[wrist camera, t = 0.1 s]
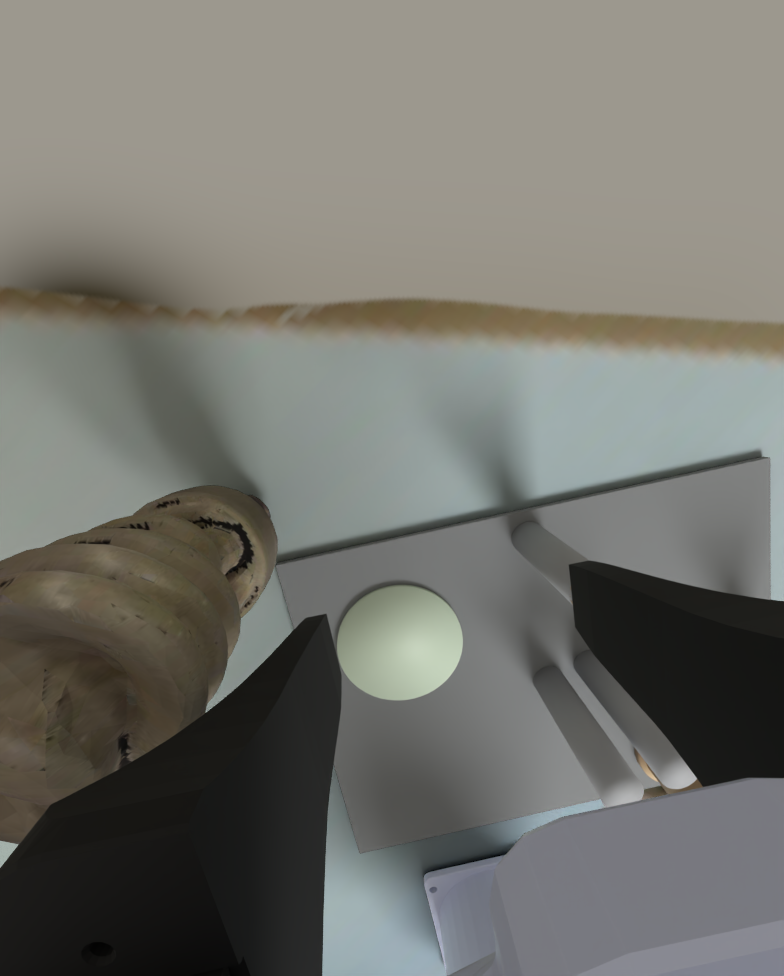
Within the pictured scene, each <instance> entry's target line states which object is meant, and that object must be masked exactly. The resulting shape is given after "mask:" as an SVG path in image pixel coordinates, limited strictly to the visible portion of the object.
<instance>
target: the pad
mask: <svg viewBox="0 0 784 976" xmlns="http://www.w3.org/2000/svg"><path fill="white" fill-rule="evenodd" d="M462 648H463V636H462V630H461V626H460V623H459V621H458V619H457V616H456V614H455V613H454V611H453V609H452V608H451V607H450V606H449V604H448V603H447V602H446V601H445V600H443V599H442V598H441V597H440V596H438V595H437V594H435V593H433V592H431V591H429V590H427V589H424V588H422V587H418V586H413V585H391V586H386V587H382V588H379V589H377V590H374V591H372V592H370V593H368V594H366V595H365V596H363V597H362V598H361V599H359V600H358V601H357V602H356V603H355V604H354V605H353V606H352V607H351V608H350V609H349V611H348V612H347V613H346V615H345V617H344V619H343V621H342V623H341V625H340V629H339V633H338V639H337V653H338V658H339V662H340V664H341V667H342V669H343V671H344V673H345V674H346V676H347V677H348V678H349V680H350V681H351V682H352V683H353V684H354V685H356V686H357V687H358V688H359V689H361V690H362V691H364V692H366V693H368V694H370V695H372V696H374V697H378V698H381V699H386V700H409V699H414V698H417V697H421V696H423V695H426V694H428V693H430V692H432V691H433V690H435V689H437V688H438V687H439V686H441V685H442V684H443V683H444V682H445V681H446V680H447V679H448V678H449V677H450V676H451V674H452V673H453V672H454V670H455V668H456V667H457V665H458V662H459V660H460V657H461V654H462Z"/></svg>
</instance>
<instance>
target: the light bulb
mask: <svg viewBox="0 0 784 976" xmlns="http://www.w3.org/2000/svg"><path fill="white" fill-rule="evenodd" d="M277 543H278V540H277V536H276V532H275V529H274V526H273V523H272V521H271V519H270V512H269V509H268V508H267V506H266V505H265V504H264V503H263V502H262V501H261V500H260V499H258V498H257V497H255V496H253V495H245V494H243V493H241V492H239V491H237V490H234V489H230V488H226V487H222V486H199V487H193V488H190V489H185V490H181V491H177V492H174V493H171V494H169V495H166V496H164V497H162V498H160V499H157V500H155V501H153V502H150V503H148V504H146V505H145V506H143V507H142V508H141V509H139V510H138V511H137V512H136V513H134V514H133V516H129V517H124V518H119V519H115V520H112V521H110V522H107V523H105V524H102V525H100V526H97V527H95V528H92V529H91V530H89V531H88V532H83V533H79V534H74V535H71V536H68V537H65V538H62V539H59V540H57V541H55V542H53V543H51V544H49V545H47V546H45V547H42V548H37V549H31V550H26V551H24V552H21V553H19V554H17V555H14V556H12V557H9V558H7V559H4V560H2V561H0V841H5V842H10V843H15V844H20V843H21V841H22V840H23V839H24V838H25V836H26V835H27V834H28V833H29V831H30V830H31V829H32V827H33V826H34V825H35V824H36V822H37V821H38V820H39V819H40V817H41V816H42V815H43V814H44V812H45V811H46V810H47V809H48V807H49V806H50V805H51V804H53V803H55V802H57V801H59V800H61V799H63V798H65V797H67V796H69V795H71V794H73V793H75V792H76V791H78V790H80V789H82V788H84V787H86V786H88V785H90V784H92V783H94V782H96V781H98V780H100V779H101V778H103V777H105V776H107V775H109V774H111V773H113V772H115V771H116V770H118V769H120V768H122V767H124V766H125V765H127V764H129V763H130V762H132V761H134V760H136V759H137V758H139V757H141V756H142V755H144V754H146V753H147V752H149V751H151V750H152V749H154V748H155V747H157V746H159V745H160V744H162V743H163V742H165V741H166V740H168V739H170V738H171V737H173V736H174V735H175V734H177V733H178V732H180V731H181V730H182V729H184V728H185V727H187V726H188V725H190V724H191V723H192V722H194V721H195V720H197V719H198V718H199V717H201V716H202V715H204V714H205V711H206V706H207V703H208V702H209V701H210V700H211V699H212V697H213V696H214V695H215V693H216V692H217V690H218V688H219V686H220V684H221V682H222V680H223V677H224V674H225V670H226V666H227V661H228V658H229V657H230V655H231V654H232V651H233V649H234V647H235V645H236V643H237V641H238V637H239V633H240V622H241V618H242V617H243V616H244V615H245V614H246V613H247V612H248V611H249V610H250V609H251V608H252V607H253V605H254V604H255V603H256V601H257V600H258V599H259V597H260V595H261V593H262V592H263V590H264V589H265V587H266V585H267V583H268V581H269V579H270V577H271V574H272V571H273V569H274V567H275V562H276V557H277Z"/></svg>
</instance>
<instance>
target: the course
mask: <svg viewBox="0 0 784 976" xmlns="http://www.w3.org/2000/svg"><path fill="white" fill-rule="evenodd" d="M589 560H590V561H597V562H602V563H606V564H610V565H614V566H618V567H621V568H625V569H629V570H632V571H636V572H640V573H643V574H647V575H651V576H655V577H658V578H662V579H666V580H670V581H674V582H678V583H682V584H687V585H691V586H695V587H700V588H704V589H709V590H714V591H719V592H724V593H730V594H736V595H742V596H748V597H754V598H761V599H768V600H771V579H770V458H768V457H760V458H755V459H750V460H746V461H741V462H737V463H732V464H728V465H723V466H718V467H714V468H709V469H705V470H700V471H695V472H691V473H686V474H682V475H677V476H673V477H668V478H663V479H659V480H654V481H650V482H645V483H641V484H636V485H631V486H627V487H622V488H618V489H613V490H608V491H604V492H599V493H595V494H590V495H586V496H581V497H576V498H572V499H567V500H563V501H558V502H554V503H549V504H544V505H540V506H535V507H531V508H526V509H521V510H517V511H512V512H508V513H503V514H499V515H494V516H489V517H485V518H480V519H476V520H471V521H466V522H462V523H457V524H453V525H448V526H444V527H439V528H434V529H430V530H425V531H421V532H416V533H412V534H407V535H402V536H398V537H393V538H389V539H384V540H379V541H375V542H370V543H366V544H361V545H357V546H352V547H347V548H343V549H338V550H334V551H329V552H325V553H320V554H315V555H311V556H306V557H302V558H297V559H292V560H288V561H283V562H279V563H277V564H276V569H277V573H278V576H279V579H280V583H281V586H282V590H283V593H284V597H285V600H286V603H287V607H288V610H289V614H290V617H291V620H292V624H293V627H294V629H295V628H296V627H297V626H298V625H299V624H300V623H301V622H302V621H303V620H304V619H305V618H307V617H312V616H317V615H322V614H327V618H328V622H329V626H330V630H331V634H332V638H333V642H334V646H335V650H336V654H337V658H338V653H337V639H338V633H339V629H340V625H341V623H342V621H343V619H344V617H345V615H346V613H347V612H348V611H349V609H350V608H351V607H352V606H353V605H354V604H355V603H356V602H357V601H358V600H359V599H361V598H362V597H363V596H365V595H366V594H368V593H370V592H372V591H374V590H377V589H379V588H382V587H386V586H391V585H413V586H418V587H422V588H424V589H427V590H429V591H431V592H433V593H435V594H437V595H438V596H440V597H441V598H442V599H443V600H445V601H446V602H447V603H448V604H449V606H450V607H451V608H452V609H453V611H454V613H455V614H456V616H457V619H458V621H459V623H460V626H461V630H462V636H463V648H462V654H461V657H460V660H459V662H458V665H457V667H456V668H455V670H454V672H453V673H452V674H451V676H450V677H449V678H448V679H447V680H446V681H445V682H444V683H443V684H442V685H441V686H439V687H438V688H437V689H435V690H433V691H432V692H430V693H428V694H426V695H423V696H421V697H417V698H414V699H409V700H386V699H381V698H378V697H374V696H372V695H370V694H368V693H366V692H364V691H362V690H361V689H359V688H358V687H357V686H356V685H354V684H353V683H352V682H351V681H350V680H349V678H348V677H347V676H346V674H345V673H344V671H343V669H342V667H341V664H340V662H339V658H338V662H339V666H340V670H341V674H342V696H341V714H340V721H339V729H338V736H337V743H336V750H335V757H334V767H335V771H336V774H337V778H338V781H339V784H340V788H341V791H342V795H343V798H344V801H345V805H346V808H347V812H348V815H349V819H350V822H351V825H352V829H353V832H354V836H355V839H356V842H357V846H358V849H359V853H364V852H369V851H373V850H378V849H382V848H386V847H391V846H395V845H400V844H404V843H408V842H413V841H417V840H422V839H426V838H431V837H435V836H439V835H444V834H448V833H453V832H457V831H461V830H466V829H470V828H475V827H479V826H484V825H488V824H492V823H497V822H501V821H506V820H510V819H514V818H519V817H523V816H528V815H532V814H537V813H541V812H545V811H550V810H554V809H559V808H563V807H567V806H572V805H576V804H581V803H585V802H590V801H594V800H598V799H601V801H602V803H603V804H604V806H605V807H606V808H607V807H612V806H616V805H621V804H626V803H631V802H635V801H640V800H641V799H642V797H643V793H644V789H647V788H651V787H656V786H660V785H661V784H660V783H659V782H657V781H655V780H653V779H652V778H650V777H649V776H648V775H647V774H646V773H645V772H644V770H643V769H642V768H641V766H640V765H639V764H638V762H637V760H636V757H635V753H634V748H635V749H636V750H637V751H638V753H639V754H640V755H641V757H642V758H643V759H644V760H645V762H646V763H647V764H648V766H649V767H650V768H651V770H652V771H653V772H654V773H655V775H656V776H657V777H658V779H659V780H660V781H661V782H662V784H663V785H664V786H666V787H668V788H671V789H682V788H685V787H687V786H689V785H691V784H692V783H693V782H695V781H696V779H697V778H696V776H695V775H694V774H693V772H692V771H691V770H690V768H689V767H688V766H687V764H686V763H685V762H684V760H683V759H682V758H681V756H680V755H679V754H678V752H677V751H676V750H675V748H674V747H673V746H672V744H671V743H670V742H669V740H668V739H667V738H666V737H665V735H664V734H663V733H662V732H661V730H660V729H659V728H658V727H657V726H656V724H655V723H654V722H653V721H652V720H651V719H650V718H649V717H648V715H647V714H646V713H645V712H644V711H643V710H642V709H641V708H640V707H639V705H638V704H637V703H636V702H635V701H634V700H633V699H632V698H631V697H630V695H629V694H628V693H627V692H626V691H625V690H624V689H623V688H622V686H621V685H620V684H619V683H618V682H617V681H616V680H615V679H614V678H613V676H612V675H611V674H610V673H609V672H608V671H607V670H606V668H605V667H604V666H603V665H602V664H601V663H600V662H599V660H598V659H597V658H596V657H595V656H594V654H593V653H592V652H591V650H590V649H589V647H588V646H587V644H586V643H585V641H584V640H583V638H582V637H581V635H580V634H579V632H578V631H577V629H576V628H575V622H574V612H573V602H572V592H571V582H570V572H569V564H574V563H579V562H584V561H589Z"/></svg>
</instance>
